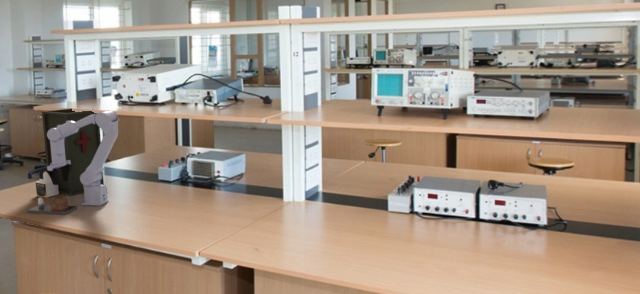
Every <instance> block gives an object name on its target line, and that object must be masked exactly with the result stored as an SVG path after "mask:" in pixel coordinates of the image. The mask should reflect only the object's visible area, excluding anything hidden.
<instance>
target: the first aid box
mask: <svg viewBox="0 0 640 294" xmlns="http://www.w3.org/2000/svg"><path fill="white" fill-rule="evenodd" d="M92 114H96V113H94V112H92V111H82V112H75V111H72V108H66V109H65V108H63V109H62V108H61V109H53V110H44V111H41V115H42V128H43V129H42V130H43V136H44V137H43V140H44V151H45V152H44V153H45V161H46V163H45V164H46V167H47V166H49V165H50V163H52V155H51V144H50V140H49V139H48V137H47V132H48V131H49V130H50V129H51V128H57V126H58V125H63V124H65V123H66V121H69V120H70V121H74V122H77V121H79V120H81V119H83V118H85V117H87V116H89V115H92ZM101 141H102V139H101V128H100V127H99V126H98V125H97V124H93V123H91V124H89V125H86V126H83V127H81V128H79V130H78V132H77V133H74V134H72V135H69V136H67V137H65V138H64V146H65V158H66V160H70V161H71V164H70V165H72V168H71V171H70V174H69V179H68V181H63V178H62V173H61V170H60V168H56V169H57V170H60V172H59V177H58V189H59V194H62V195H65V196H78V195H79V194H84V186H83V184H82V183H81V181H80V176H81V174H82V173H84V172H85V170H86V169H87V167H88V166H89V165H90V164H91V162H92V160H93V158H94V156H95V154H96V152H97V150H98V147H99V145H100V143H101ZM102 174H103V176H102V179H101V180H100V184H102V185H105V184H104V172H103V173H102Z"/></svg>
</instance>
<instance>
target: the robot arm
mask: <svg viewBox="0 0 640 294" xmlns="http://www.w3.org/2000/svg"><path fill="white" fill-rule="evenodd" d="M119 121H120V119H119V117H118V115H117V112H115V111H114V110H111V109H108V110H107V111H106V110H105V111H99V113H96V114H92V115H89V116H87V117H85V118H83V119H81V120H79V121H77V122H74V121H70V120H69V121H66V123H65V124H63V125H58V126H57V128H51V129H50V130H49V131H48V132H47V137H48V139H49V140H50V144H51V155H52V163H50V165H49V166H47V165H46V170H45V171H46V172H47V173H48V175H49V176H50V178H51V180H52V183H53V185H58V177H59V172H60V170H61V173H62V178H63V181H68V179H69V174H70V171H71V168H72V165H70V164H71V161H70V160H66V158H65V146H64V138H65V137H67V136H69V135H72V134H74V133H77V132H78V130H79V128H81V127H83V126H86V125H89V124H91V123H93V124H97V125H98V126H99V127H100V130H102V132H103V134H104V136H103V137H102V139H101V143H100V145H99V147H98V150H97V152H96V154H95V156H94V158H93V160H92V162H91V164H90V165H89V166H88V167H87V169H86V170H85V172H84V173H82V174H81V176H80V181H81V183H82V184H83V186H84V193H83V194H84V202H82V203H80V205H81V206H96V207H97V206H98V207H99V206H102V205H104V204H106V203H108V202H109V198H108V197H109V196H108V189H107V186H106V185H105V184H104V185H102V184H100V180H101V179H102V176H103V177H104V165H105V163H106V161H107V159H108V157H109V155H110V153H111V151H112V148H113V146H114V144H115V142H116V140H117V138H118V136H119ZM56 168H60V170H57V169H56ZM102 173H103V174H102Z"/></svg>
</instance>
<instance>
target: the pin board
mask: <svg viewBox="0 0 640 294" xmlns="http://www.w3.org/2000/svg"><path fill="white" fill-rule="evenodd" d="M37 203H38V205H37V206H34V207H31V208H29V209H27V211H26V212H27V214H41V215H42V214H45V215H46V214H47V215H61V216H62V215H65V216H66V215H68V214H70V213H72V212H75V211H76V210H78V206H77V205H68V208H65V209H63V210H51V206H50V204H44V197H40V196H39V198H37Z"/></svg>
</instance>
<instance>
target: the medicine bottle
mask: <svg viewBox="0 0 640 294" xmlns="http://www.w3.org/2000/svg"><path fill="white" fill-rule="evenodd" d="M38 174H39V175H38V176H39V177H38V178H39V180H37V181H35V191H36V196H37V197H39V198H40V197H41V198H52V197H55V196H60V195H59V194H60V193H59V189H58V185H53V183H52V180H51V178H50V176H49V175H48V173H47V172H46V170H41V171H39V173H38Z"/></svg>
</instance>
